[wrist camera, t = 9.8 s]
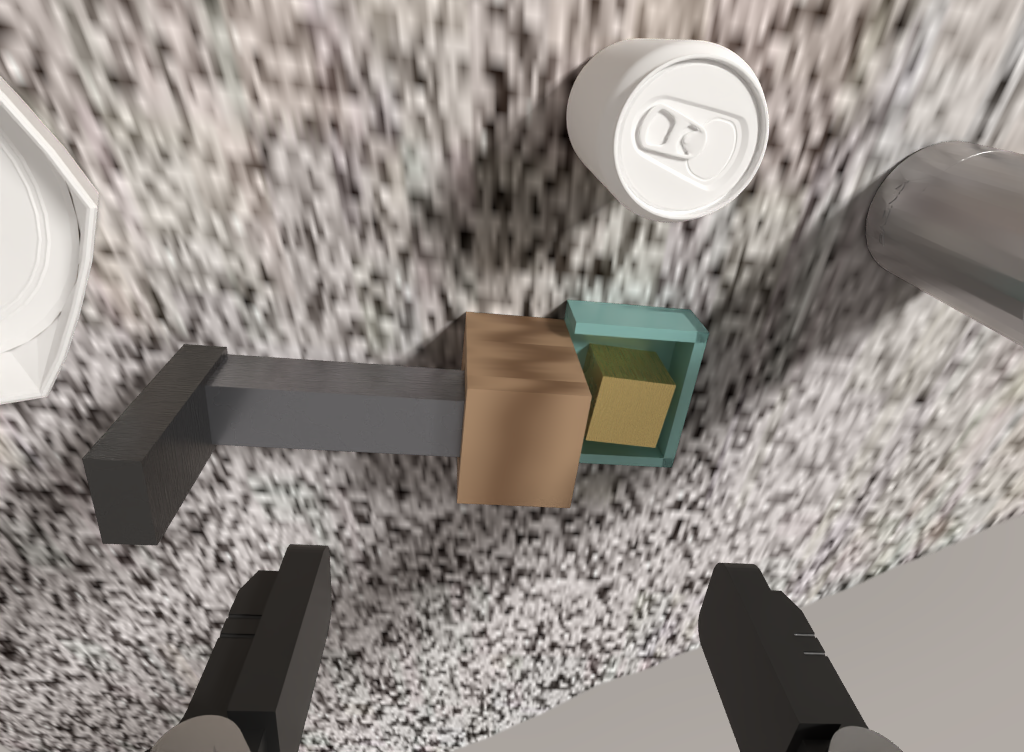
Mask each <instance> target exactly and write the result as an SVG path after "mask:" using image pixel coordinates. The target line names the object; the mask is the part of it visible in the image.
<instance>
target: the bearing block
mask: <svg viewBox="0 0 1024 752" xmlns="http://www.w3.org/2000/svg"><path fill="white" fill-rule="evenodd" d="M461 370H465V404H464V416H463V427H462V438H461V449H460V457H457V503H464V504H487V505H510V506H533V507H556V508H570V506H571V501H572V495H573V490H574V485H575V480H576V475H577V470H578V465H579V460H580V454H581V449H582V444H583V439H584V434H585V429H586V424H587V419H588V413H589V408H590V403H591V398H592V396H591V393H590V390H589V387H588V384H587V382H586V379H585V376H584V373H583V370H582V368H581V365H580V362H579V359H578V357H577V354H576V351H575V348H574V345H573V343H572V340H571V337H570V334H569V331H568V329H567V326H566V323H565V320H564V319H552V318H539V317H526V316H513V315H500V314H487V313H474V312H466V319H465V331H464V343H463V355H462V367H461Z"/></svg>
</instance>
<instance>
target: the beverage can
mask: <svg viewBox="0 0 1024 752" xmlns="http://www.w3.org/2000/svg"><path fill="white" fill-rule="evenodd" d="M566 121H567V130H568V135H569V139H570V142H571V144H572V147H573V149H574V151H575V153H576V154H577V156H578V157H579V159H580V160H581V161H582V162H583V164H584V165H585V166H586V167H587V168H588V169H589V170H590V171H591V172H592V173H593V174H594V175H595V176H596V177H597V179H598V180H599V181H600V182H601V183H602V184H603V185H604V186H605V187H606V188H607V189H608V190H609V191H610V192H611V194H612V195H613V196H614V197H615V198H616V199H617V200H618V201H619V202H620V203H621V204H622V205H623V206H625V207H626V208H627V209H629V210H630V211H632V212H633V213H635V214H637V215H639V216H641V217H644V218H647V219H650V220H654V221H659V222H683V221H689V220H693V219H696V218H699V217H702V216H705V215H708V214H710V213H713V212H715V211H717V210H719V209H720V208H722V207H724V206H725V205H727V204H728V203H729V202H731V201H732V200H733V199H734V198H736V197H737V196H738V195H739V194H740V193H741V192H742V191H743V190H744V189H745V187H746V186H747V185H748V184H749V182H750V181H751V180H752V178H753V176H754V175H755V173H756V171H757V170H758V168H759V166H760V164H761V161H762V159H763V156H764V153H765V150H766V146H767V141H768V134H769V116H768V109H767V104H766V101H765V97H764V93H763V90H762V88H761V85H760V83H759V81H758V79H757V77H756V75H755V74H754V72H753V71H752V69H751V68H750V67H749V66H748V65H747V63H746V62H745V61H744V60H743V59H742V58H740V57H739V56H738V55H737V54H735V53H734V52H732V51H731V50H729V49H727V48H725V47H723V46H721V45H718V44H715V43H712V42H707V41H700V40H677V39H644V38H636V39H628V40H623V41H620V42H617V43H614V44H612V45H610V46H608V47H606V48H604V49H603V50H601V51H600V52H599V53H597V54H596V55H595V56H594V57H593V58H592V59H591V60H590V61H589V62H588V63H587V64H586V65H585V66H584V67H583V69H582V70H581V72H580V73H579V75H578V76H577V78H576V80H575V82H574V84H573V87H572V89H571V92H570V95H569V99H568V104H567V113H566Z"/></svg>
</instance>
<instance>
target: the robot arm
mask: <svg viewBox="0 0 1024 752" xmlns="http://www.w3.org/2000/svg"><path fill="white" fill-rule="evenodd" d="M865 234H866V240H867V246H868V248H869V250H870V253H871V255H872V257H873V258H874V259H875V261H876V262H877V263H878V264H879V265H880V266H881V267H883V268H884V269H886V270H887V271H889V272H890V273H892V274H894V275H896V276H898V277H899V278H901V279H903V280H905V281H907V282H908V283H910V284H912V285H914V286H915V287H917V288H919V289H920V290H922V291H924V292H926V293H927V294H929V295H931V296H933V297H934V298H936V299H938V300H940V301H942V302H943V303H945V304H947V305H949V306H951V307H952V308H954V309H956V310H958V311H960V312H961V313H963V314H965V315H967V316H968V317H970V318H972V319H974V320H976V321H977V322H979V323H981V324H983V325H985V326H986V327H988V328H990V329H992V330H993V331H995V332H997V333H999V334H1001V335H1002V336H1004V337H1006V338H1008V339H1010V340H1011V341H1013V342H1015V343H1017V344H1019V345H1020V346H1022V347H1024V155H1023V154H1019V153H1015V152H1011V151H1006V150H1002V149H997V148H993V147H988V146H983V145H979V144H974V143H969V142H962V141H949V142H941V143H938V144H935V145H931V146H928V147H926V148H924V149H922V150H920V151H918V152H916V153H914V154H912V155H911V156H910V157H908V158H907V159H906V160H904V161H903V162H902V163H900V164H899V165H898V166H897V167H896V168H895V169H894V170H893V171H892V172H891V173H890V174H889V175H888V176H887V177H886V179H885V180H884V182H883V183H882V185H881V186H880V188H879V189H878V190H877V192H876V194H875V196H874V198H873V201H872V203H871V205H870V208H869V212H868V215H867V219H866V233H865ZM331 604H332V598H331V576H330V554H329V547H328V546H320V545H295V544H290V545H289V546H288V548H287V550H286V553H285V556H284V558H283V561H282V564H281V566H280V569H279V571H260V570H259V571H258V572H257V573H256V574H255V575H254V576H253V577H252V578H251V579H250V580H249V581H248V582H247V583H246V584H245V585H244V586H243V587H242V588H241V589H240V590H239V591H238V593H237V596H236V598H235V600H234V603H233V605H232V607H231V610H230V612H229V617H228V618H227V619H226V621H225V624H224V626H223V628H222V630H221V633H220V638H218V640H217V642H216V644H215V647H214V649H213V651H212V654H211V656H210V658H209V661H208V663H207V665H206V667H205V670H204V672H203V674H202V677H201V679H200V681H199V684H198V686H197V688H196V691H195V693H194V695H193V698H192V700H191V702H190V704H189V707H188V709H187V711H186V713H185V715H184V717H183V718H182V720H181V721H180V723H179V724H178V725H176V726H175V727H173V728H172V729H170V730H169V731H168V732H166V733H165V734H164V735H163V736H162V737H161V738H160V739H159V740H158V741H157V742H156V744H155V745H154V746H153V747H152V748H150V749H149V750H147V751H145V752H298V749H299V745H300V741H301V737H302V733H303V729H304V725H305V721H306V717H307V713H308V709H309V706H310V702H311V698H312V694H313V690H314V686H315V682H316V678H317V674H318V670H319V666H320V662H321V658H322V654H323V650H324V646H325V642H326V638H327V634H328V630H329V624H330V617H331ZM698 631H699V638H700V643H701V646H702V649H703V651H704V654H705V657H706V660H707V662H708V665H709V668H710V670H711V673H712V676H713V678H714V681H715V684H716V686H717V689H718V692H719V695H720V698H721V700H722V703H723V706H724V708H725V711H726V714H727V717H728V719H729V722H730V725H731V728H732V730H733V733H734V736H735V738H736V741H737V744H738V747H739V749H740V752H903V751H902V750H901V749H900V748H899V747H897V746H896V745H895V744H894V743H893V742H891V741H890V740H889V739H887V738H886V737H884V736H882V735H881V734H879V733H877V732H875V731H873V730H870V729H869V728H868V727H867V725H866V724H865V722H864V720H863V718H862V717H861V715H860V713H859V711H858V709H857V708H856V706H855V704H854V702H853V701H852V699H851V697H850V695H849V694H848V692H847V690H846V688H845V686H844V685H843V683H842V681H841V679H840V678H839V676H838V674H837V672H836V671H835V669H834V667H833V665H832V663H831V662H830V660H829V658H828V657H827V656H825V651H824V649H823V647H822V646H821V644H820V642H819V640H818V639H817V638H815V636H814V632H813V630H812V628H811V626H810V625H809V623H808V621H807V619H806V617H805V616H804V614H803V612H802V611H801V610H800V609H799V608H798V607H797V606H796V605H795V604H794V603H793V602H792V601H791V600H790V599H789V598H788V597H787V596H786V595H785V594H784V593H783V592H782V591H772V590H770V588H769V586H768V584H767V582H766V580H765V578H764V577H763V575H762V573H761V571H760V569H759V568H758V567H757V566H756V565H754V564H738V563H718V564H717V565H716V566H715V568H714V570H713V573H712V576H711V579H710V582H709V585H708V589H707V592H706V595H705V598H704V601H703V604H702V607H701V610H700V614H699V620H698Z"/></svg>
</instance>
